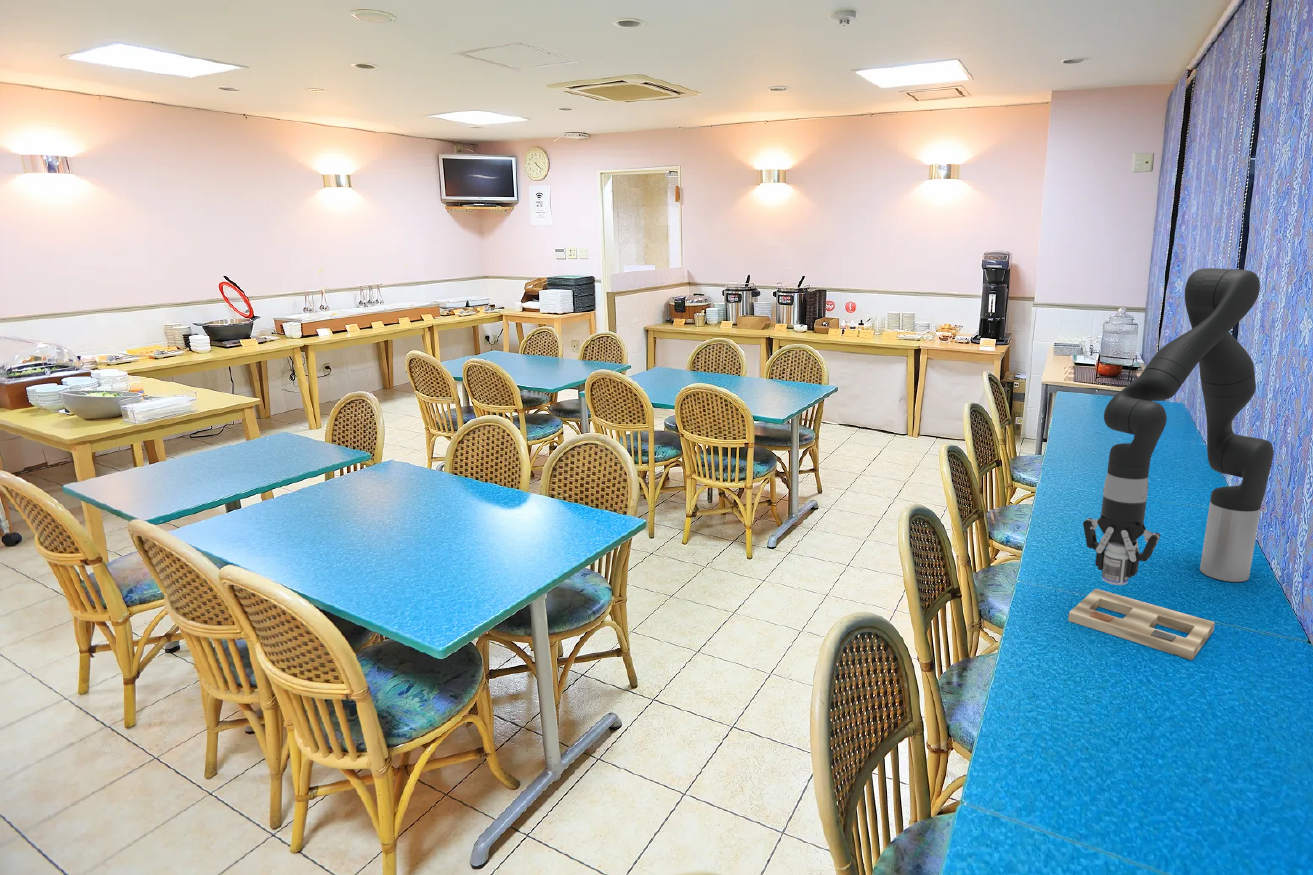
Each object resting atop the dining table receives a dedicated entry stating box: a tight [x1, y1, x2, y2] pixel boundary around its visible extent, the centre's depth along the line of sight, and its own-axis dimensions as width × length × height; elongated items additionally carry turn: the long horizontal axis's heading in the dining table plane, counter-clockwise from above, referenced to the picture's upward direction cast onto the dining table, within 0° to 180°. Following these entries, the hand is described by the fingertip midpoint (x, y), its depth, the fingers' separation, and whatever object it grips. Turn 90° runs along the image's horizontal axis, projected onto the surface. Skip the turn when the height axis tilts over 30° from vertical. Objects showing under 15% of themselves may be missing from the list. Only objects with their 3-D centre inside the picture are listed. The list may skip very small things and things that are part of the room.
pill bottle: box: [1101, 541, 1130, 586], centre depth 154 cm, size 5×5×8 cm
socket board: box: [1067, 588, 1216, 661], centre depth 153 cm, size 15×22×2 cm
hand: (1115, 572), depth 155 cm, fingers closed on pill bottle, 4 cm apart
